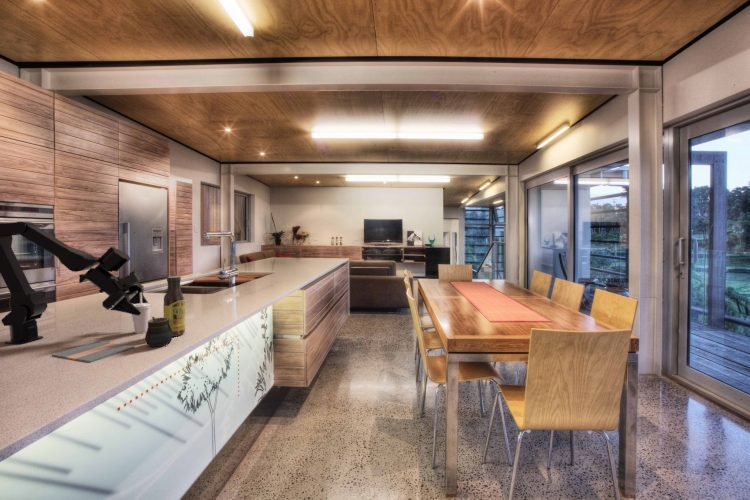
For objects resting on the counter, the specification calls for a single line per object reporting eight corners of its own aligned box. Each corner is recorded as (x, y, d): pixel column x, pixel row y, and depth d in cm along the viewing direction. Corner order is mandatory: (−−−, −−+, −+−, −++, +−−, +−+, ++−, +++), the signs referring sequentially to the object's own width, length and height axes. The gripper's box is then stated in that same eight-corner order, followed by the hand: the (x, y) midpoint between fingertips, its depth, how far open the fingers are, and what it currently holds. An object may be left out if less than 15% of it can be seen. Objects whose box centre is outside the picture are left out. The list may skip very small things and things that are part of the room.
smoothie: (135, 335, 113) (133, 294, 113) (127, 332, 117) (125, 293, 116) (156, 331, 119) (154, 291, 118) (147, 328, 122) (145, 290, 121)
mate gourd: (174, 339, 109) (173, 309, 109) (171, 347, 102) (170, 315, 102) (148, 342, 106) (147, 311, 106) (143, 350, 99) (141, 317, 99)
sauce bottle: (175, 338, 111) (173, 278, 110) (159, 337, 112) (156, 278, 111) (190, 332, 117) (188, 275, 116) (174, 331, 118) (172, 275, 117)
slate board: (52, 355, 96) (51, 354, 96) (98, 342, 107) (98, 341, 107) (90, 362, 91) (90, 361, 91) (134, 347, 102) (134, 346, 102)
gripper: (111, 267, 106) (153, 299, 110) (136, 261, 124) (171, 289, 128) (83, 293, 105) (126, 325, 108) (112, 284, 123) (148, 311, 126)
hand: (145, 311), depth 118 cm, fingers open, 9 cm apart
